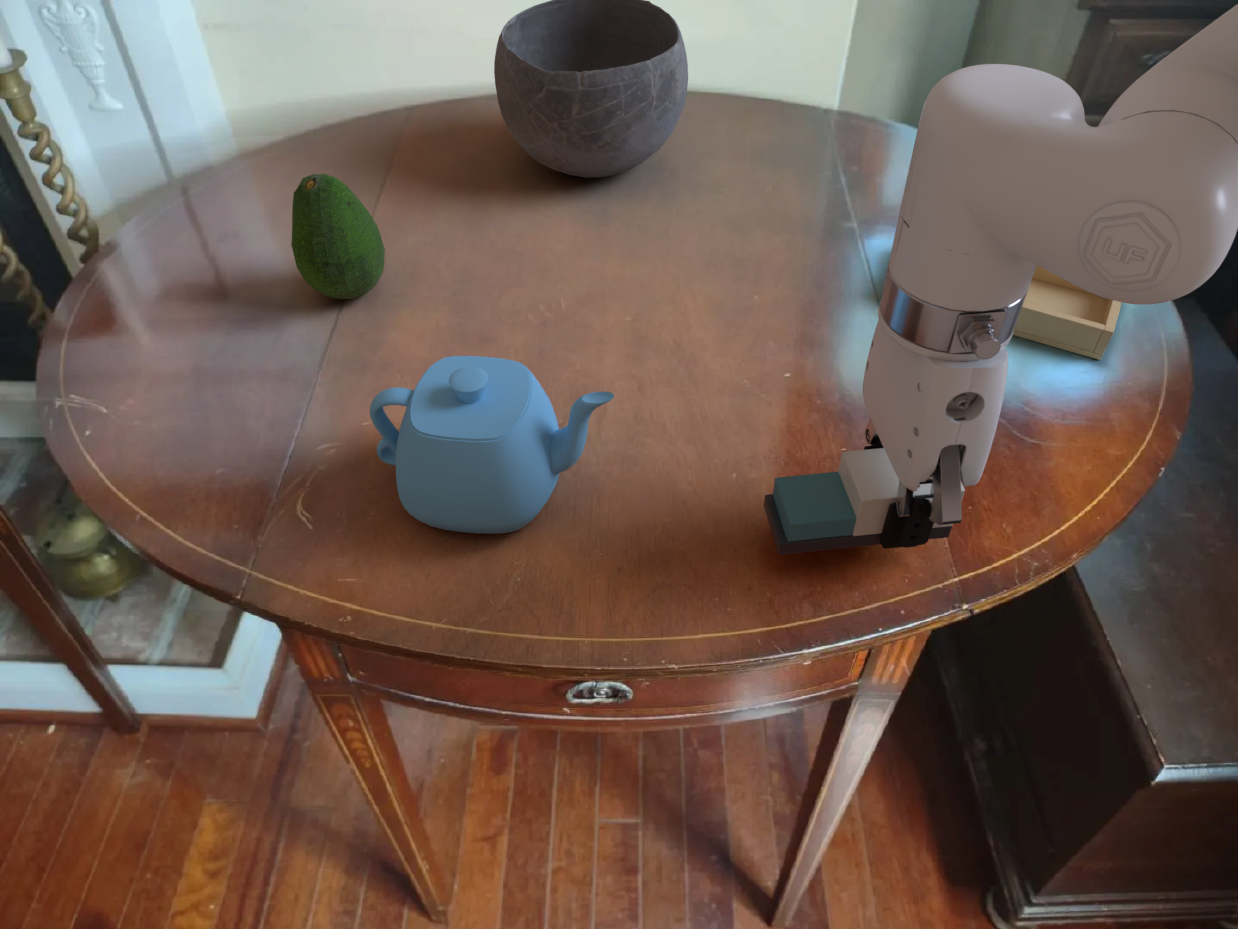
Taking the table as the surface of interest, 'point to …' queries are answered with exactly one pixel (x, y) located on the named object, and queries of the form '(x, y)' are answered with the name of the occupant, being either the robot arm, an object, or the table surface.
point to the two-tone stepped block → (838, 505)
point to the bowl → (591, 83)
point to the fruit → (335, 239)
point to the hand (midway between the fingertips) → (890, 512)
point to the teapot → (479, 444)
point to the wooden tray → (1066, 316)
